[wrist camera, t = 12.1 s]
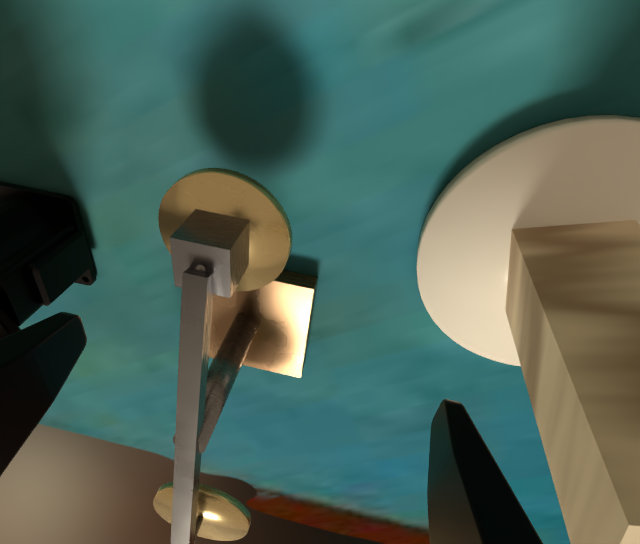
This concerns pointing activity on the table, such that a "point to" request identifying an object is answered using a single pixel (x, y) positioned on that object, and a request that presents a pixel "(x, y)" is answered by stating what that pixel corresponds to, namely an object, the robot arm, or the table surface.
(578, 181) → the saucer
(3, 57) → the table surface
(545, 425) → the birch block
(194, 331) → the balance
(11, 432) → the robot arm
